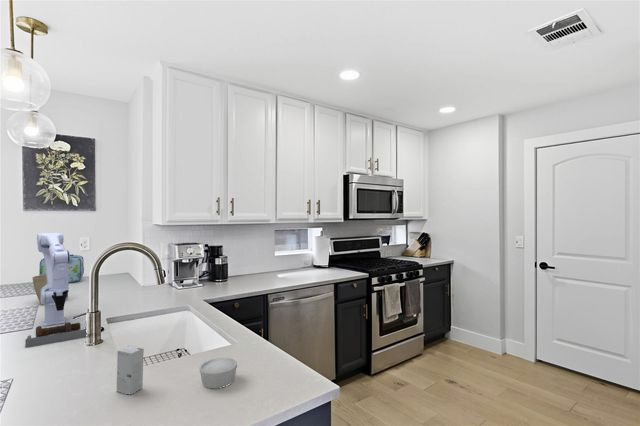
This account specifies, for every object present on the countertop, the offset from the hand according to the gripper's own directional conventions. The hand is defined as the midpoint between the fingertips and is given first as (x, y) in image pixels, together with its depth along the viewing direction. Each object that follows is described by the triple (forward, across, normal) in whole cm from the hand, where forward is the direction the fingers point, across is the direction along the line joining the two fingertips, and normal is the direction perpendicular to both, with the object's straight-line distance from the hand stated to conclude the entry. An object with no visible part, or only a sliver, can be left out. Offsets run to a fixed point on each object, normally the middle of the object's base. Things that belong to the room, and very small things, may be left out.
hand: (60, 308), depth 151 cm
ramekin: (+10, +86, +43) cm, 97 cm away
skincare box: (+10, +76, +20) cm, 79 cm away
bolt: (+10, +7, 0) cm, 12 cm away
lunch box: (+10, -127, -5) cm, 127 cm away
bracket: (+9, +14, 0) cm, 16 cm away
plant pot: (+10, -59, -8) cm, 60 cm away
